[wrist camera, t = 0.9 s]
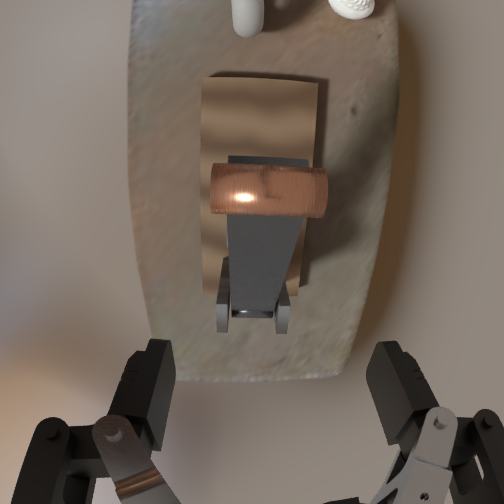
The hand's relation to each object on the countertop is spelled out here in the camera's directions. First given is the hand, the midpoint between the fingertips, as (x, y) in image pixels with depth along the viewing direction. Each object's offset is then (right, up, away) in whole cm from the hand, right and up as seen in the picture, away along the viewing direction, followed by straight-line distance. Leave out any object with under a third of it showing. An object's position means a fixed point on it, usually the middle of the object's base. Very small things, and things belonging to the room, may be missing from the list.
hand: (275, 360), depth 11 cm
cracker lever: (0, +6, +18) cm, 19 cm away
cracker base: (0, +12, +29) cm, 32 cm away
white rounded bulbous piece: (+11, +37, +18) cm, 42 cm away
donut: (-2, +35, +19) cm, 39 cm away
